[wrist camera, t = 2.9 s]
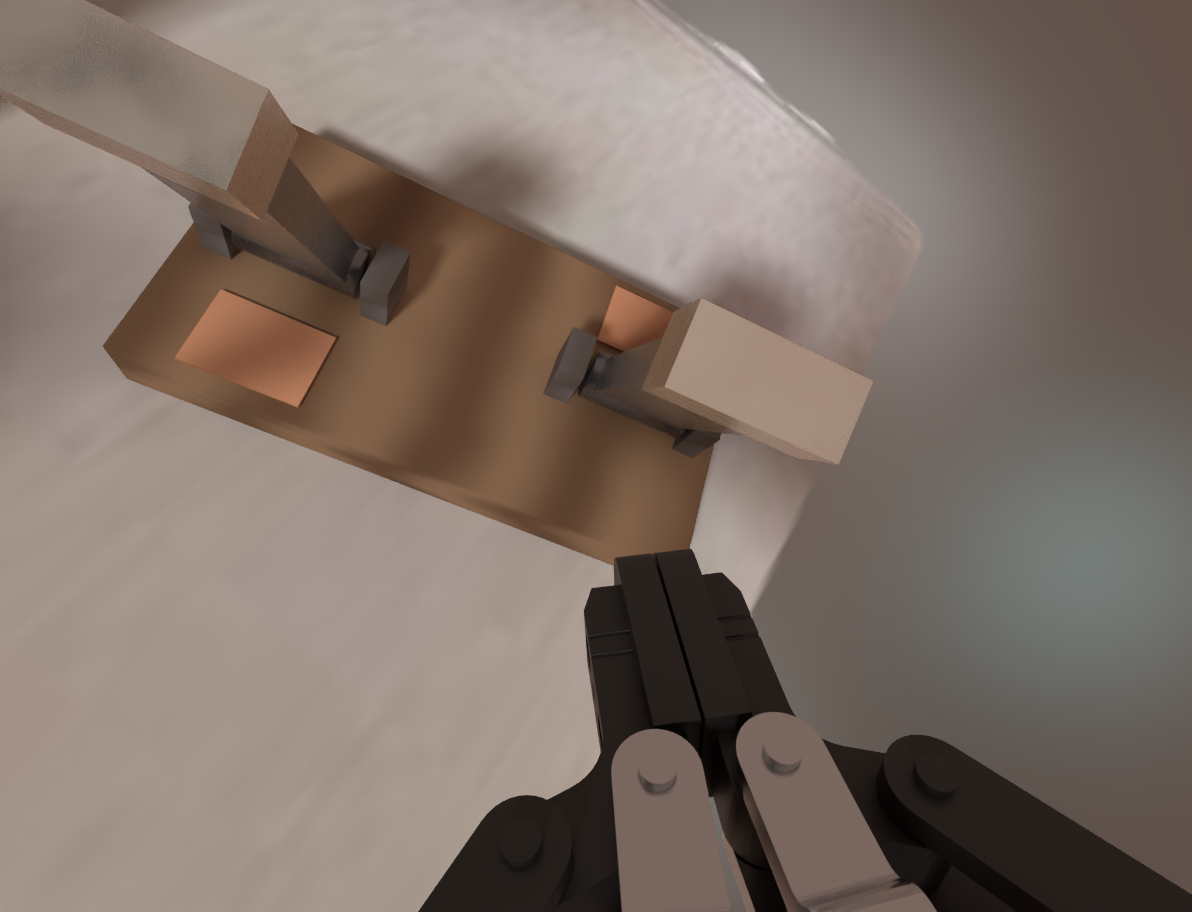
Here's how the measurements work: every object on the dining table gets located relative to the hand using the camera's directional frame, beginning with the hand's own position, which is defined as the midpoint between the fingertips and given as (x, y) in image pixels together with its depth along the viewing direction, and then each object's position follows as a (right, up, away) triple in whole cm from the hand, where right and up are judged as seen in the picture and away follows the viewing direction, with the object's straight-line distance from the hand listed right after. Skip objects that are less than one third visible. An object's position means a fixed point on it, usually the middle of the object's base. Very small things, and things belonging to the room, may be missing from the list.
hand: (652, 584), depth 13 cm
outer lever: (+1, +6, +20) cm, 20 cm away
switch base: (-8, +7, +21) cm, 23 cm away
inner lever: (-14, +12, +17) cm, 24 cm away
